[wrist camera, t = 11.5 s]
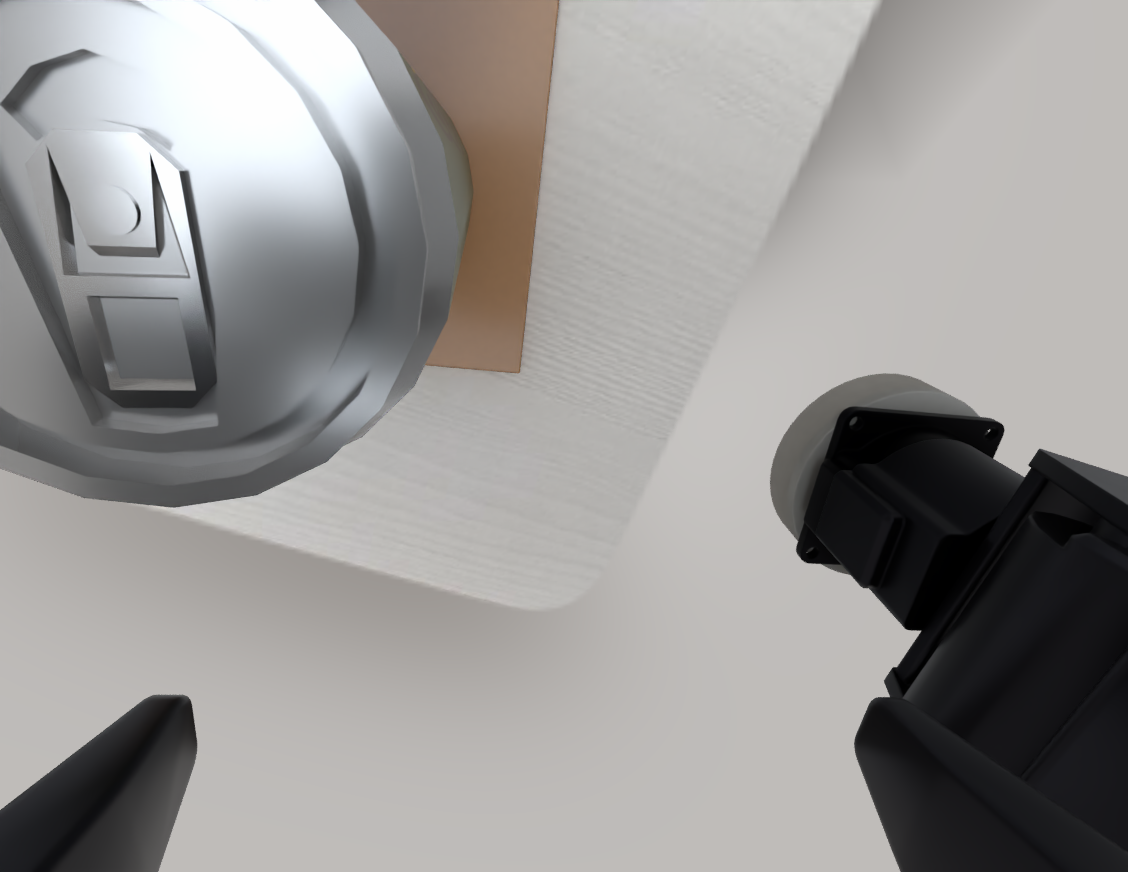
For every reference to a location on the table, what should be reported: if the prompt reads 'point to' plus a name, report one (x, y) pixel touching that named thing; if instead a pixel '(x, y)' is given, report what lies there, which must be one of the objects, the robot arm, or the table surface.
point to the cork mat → (485, 152)
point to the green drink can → (213, 240)
